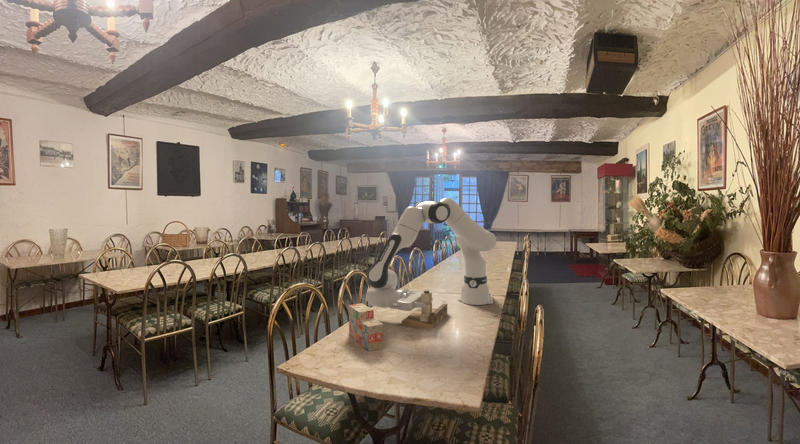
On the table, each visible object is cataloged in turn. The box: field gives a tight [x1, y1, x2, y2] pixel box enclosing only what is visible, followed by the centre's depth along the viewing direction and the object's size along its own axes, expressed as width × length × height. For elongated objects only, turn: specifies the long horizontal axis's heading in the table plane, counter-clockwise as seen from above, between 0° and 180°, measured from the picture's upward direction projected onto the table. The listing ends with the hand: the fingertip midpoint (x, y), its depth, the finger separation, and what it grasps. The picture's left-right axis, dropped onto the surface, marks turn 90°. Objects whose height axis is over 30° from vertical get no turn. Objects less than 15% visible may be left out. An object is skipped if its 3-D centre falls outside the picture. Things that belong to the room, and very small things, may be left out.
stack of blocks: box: [348, 302, 384, 352], centre depth 145 cm, size 21×6×12 cm, turn 27°
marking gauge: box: [420, 289, 433, 322], centre depth 164 cm, size 7×4×13 cm, turn 157°
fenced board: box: [401, 303, 448, 330], centre depth 171 cm, size 23×14×5 cm, turn 157°
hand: (428, 302), depth 163 cm, fingers open, 8 cm apart
